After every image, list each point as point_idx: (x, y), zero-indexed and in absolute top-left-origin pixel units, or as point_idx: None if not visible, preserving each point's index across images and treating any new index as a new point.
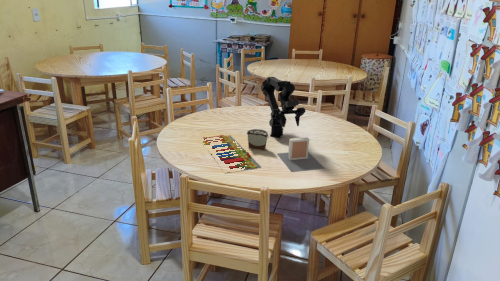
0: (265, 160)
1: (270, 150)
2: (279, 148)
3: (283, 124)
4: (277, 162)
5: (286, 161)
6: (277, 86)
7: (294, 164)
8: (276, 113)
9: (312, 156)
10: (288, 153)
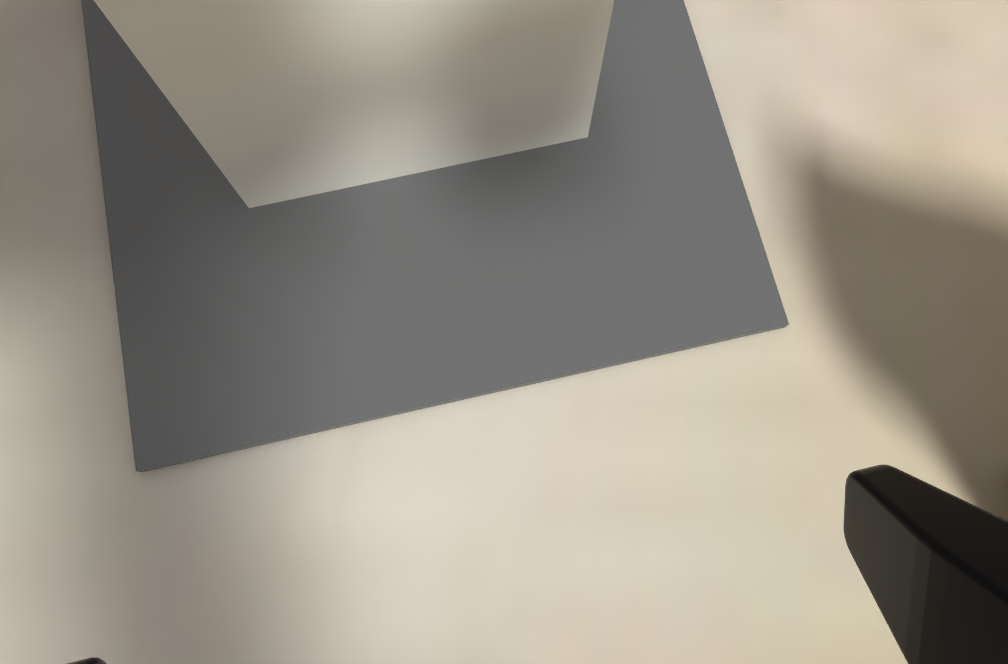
0: (981, 71)
1: None
2: (712, 611)
3: (968, 517)
4: (777, 7)
5: (627, 17)
6: None
7: None
8: None
9: (118, 212)
10: (595, 78)
